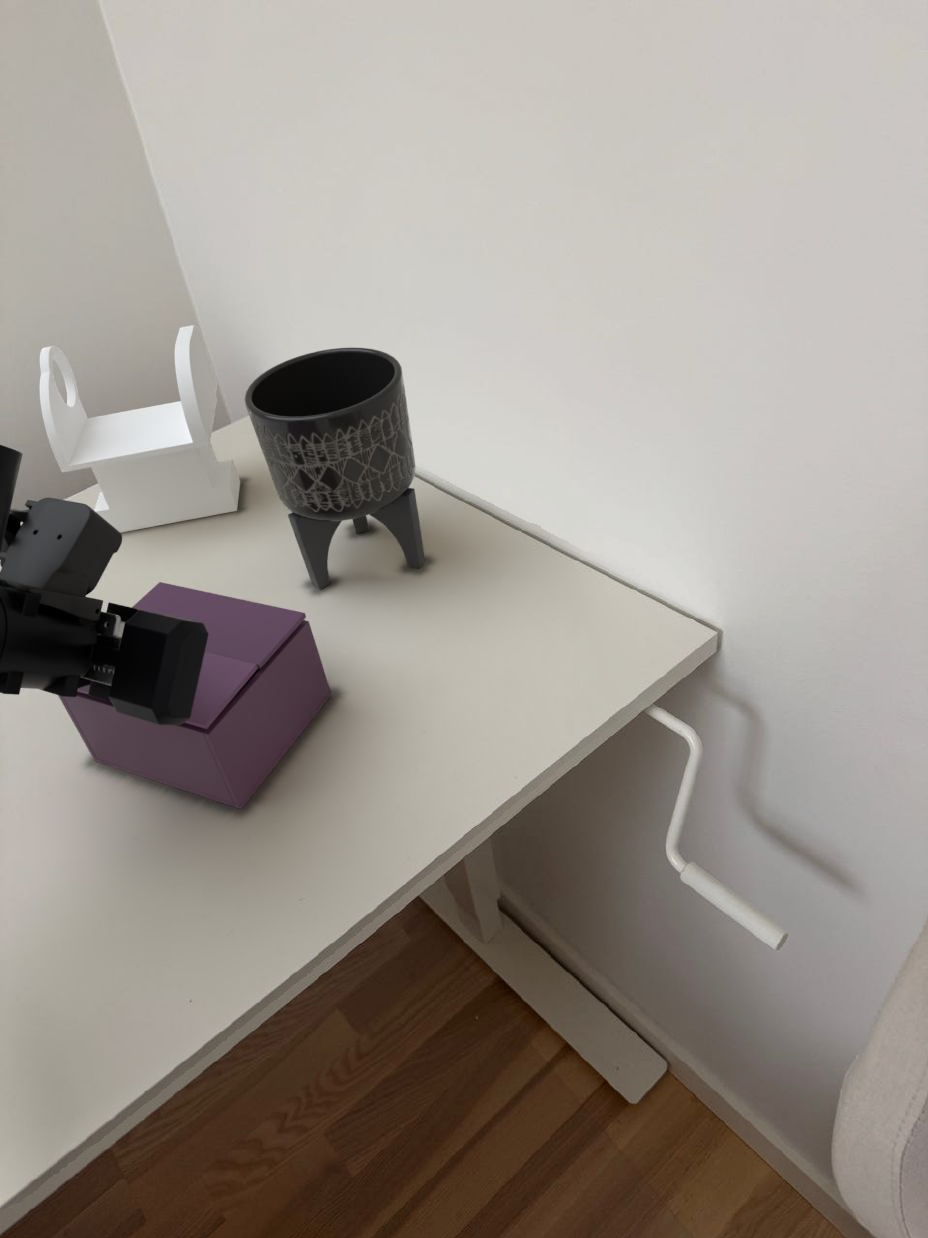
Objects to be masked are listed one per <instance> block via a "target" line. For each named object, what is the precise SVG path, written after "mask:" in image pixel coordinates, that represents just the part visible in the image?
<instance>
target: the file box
mask: <svg viewBox="0 0 928 1238" xmlns="http://www.w3.org/2000/svg"><path fill="white" fill-rule="evenodd" d="M131 608H135V609H137V610H144V611H150V612H155V613H160V614H165V615H170V616H175V617H179V618H183V619H187V620H192V621H196V622H200V623H203V624H204V626H205V628H206V630H207V632H208V634H209V635H208V639H207V644H206V648H205V652H208V653H212V654H216V655H220V656H224V657H228V658H232V659H237V660H241V661H245V662H249V663H253V664H256V665H257V667H258V669H257V670H256V671H255V672H254V674H253V675H252V676H251V677H250V678H249V680H248V681H247V682H246V683H245V684H244V686H243V687H242V688H241V689H240V690H239V691H238V693H237V694H236V695H235V696H234V697H233V699H232V700H231V701H230V702H229V703H228V705H227V706H226V707H225V708H224V709H223V710H222V712H221V713H220V714H219V715H218V716H217V718H216V719H215V720H214V721H213V722H212V724H211V725H210V726H209V727H208V728H207V729H205V728H202V727H198V726H195V725H191V724H188V723H183V724H182V725H158V724H155V723H151V722H148V721H145V720H141V719H138V718H135V717H131V716H128V715H124V714H121V713H118V712H116V710H115V708H114V706H113V704H112V702H109V701H106V700H103V699H99V698H96V697H92V696H89V695H88V694H85V693H81V692H78V691H77V695H76V697H63V696H59V695H57V696H58V698H59V700H60V701H61V704H62V705H63V707H64V709H65V710H66V712H67V714H68V716H69V717H70V719H71V722H72V723H73V725H74V726H75V728H76V730H77V732H78V734H79V735H80V737H81V739H82V741H83V743H84V744H85V746H86V748H87V750H88V752H89V754H90V756H91V757H92V759H93V760H94V762H97V763H100V764H103V765H105V766H108V767H111V768H114V769H117V770H121V771H124V772H126V773H130V774H132V775H136V776H139V777H142V778H145V779H148V780H151V781H154V782H157V783H160V784H163V785H165V786H169V787H172V788H175V789H178V790H182V791H185V792H188V793H191V794H194V795H197V796H200V797H202V798H206V799H207V800H208V799H209V800H211V801H215V802H217V803H220V804H224V805H227V806H230V807H233V808H236V809H238V810H242V809H243V808H244V807H245V806H246V804H247V803H248V802H249V801H250V800H251V798H252V797H253V795H254V794H255V793H256V792H257V791H258V789H259V788H260V786H261V785H262V784H264V781H265V780H266V779H267V778H268V777H269V775H270V774H271V773H272V772H273V770H274V769H275V768H276V767H277V765H278V764H279V762H280V761H281V760H282V759H283V757H284V756H285V755H286V754H287V752H288V751H289V750H290V749H291V747H292V746H293V745H294V744H295V742H296V741H297V740H298V738H299V737H300V736H301V735H302V733H303V732H304V731H305V729H306V728H307V727H308V726H309V725H310V723H311V722H312V721H313V719H314V718H315V717H316V716H317V714H318V713H319V712H320V711H321V710H322V708H323V707H324V705H325V704H326V703H327V702H328V700H329V699H330V698H331V697H332V691H331V688H330V685H329V682H328V679H327V678H328V677H327V675H326V672H325V669H324V666H323V663H322V659H321V655H320V653H319V650H318V647H317V642H316V639H315V637H314V633H313V630H312V627H311V624H310V621H309V620H305V619H306V618H307V615H306V613H305V612H302V611H297V610H293V609H287V608H283V607H279V606H274V605H269V604H265V603H260V602H255V601H250V600H247V599H246V600H245V599H241V598H236V597H232V596H228V595H223V594H218V593H213V592H208V591H205V590H199V589H194V588H190V587H185V586H180V585H175V584H170V583H166V582H162V581H159V582H158V583H157V584H155V585H154V587H152V589H150V590H149V591H148V592H146V594H144V595H143V597H142V598H140V599H139V600H138V601H137V602H136V603H134V605H132V607H131Z"/></svg>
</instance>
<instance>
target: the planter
mask: <svg viewBox="0 0 928 1238" xmlns="http://www.w3.org/2000/svg"><path fill="white" fill-rule="evenodd" d="M404 382H405V381H404V374H403V368H402V365H401V364H400V362H399V361H398V360H397V359H396V357H394V356H393V355H391V354H390V353H387V352H384V351H382V350H378V349H374V348H367V347H352V346H351V347H337V348H328V349H322V350H318V351H317V350H316V351H313V352H309V353H304V354H303V355H298V356H296V357H292V358H290V359H287V360H285V361H283V362H281V363H278V364H276V365H275V366H272V367H271V368H269V369H267V370H266V371H264V372H262V373H261V374H260V375H259V376H258V377H256V378H255V379H254V380H253V381H252V382H251V384H250V385H249V386H248V388H247V389H246V391H245V394H244V404H245V408H246V410H247V413H248V416H249V419H250V422H251V425H252V427H253V430H254V433H255V436H256V439H257V441H258V444H259V446H260V449H261V452H262V455H263V458H264V460H265V463H266V466H267V468H268V471H269V474H270V477H271V480H272V482H273V485H274V488H275V490H276V494H277V496H278V498H279V500H280V502H281V503H282V505H284V507H285V508H286V509H287V510H289V514H287V517H288V519H289V523H290V525H291V529H292V531H293V535H294V537H295V540H296V543H297V545H298V548H299V551H300V554H301V557H302V559H303V562H304V565H305V567H306V570H307V573H308V576H309V579H310V582H311V584H312V585H313V586H314V587H315V588H316V589H318V590H321V589H324V588H325V587H328V586H329V585H330V584H331V582H330V576H329V568H328V566H329V565H328V560H329V550H330V546H331V543H332V540H333V537H334V535H335V532H336V531H337V530H338V527H339V526H340V524H341V523H342V521H343V522H344V521H348V520H352V522H353V528H354V531H355V533H356V534H359V533H360V534H361V533H365V532H369V531H370V526H369V525H370V524H369V521H368V517H367V516H370V517H372V518H373V519H375V520H377V521H378V522H379V523H381V524H382V525H383V526H384V527H386V529H388V530H389V532H390V533H391V534H392V535H393V536H394V538H395V540H396V541H397V543H398V544H399V546H400V548H401V550H402V552H403V555H404V559H405V560H406V564H407V567H408V568H413V569H421V568H422V566H423V565H424V563H425V562H426V556H425V549H424V543H423V536H422V529H421V523H420V516H419V511H418V504H417V503H418V502H417V497H416V491H415V490H416V489H415V487H411V485H412V483H413V480H414V479H415V474H416V459H415V453H414V445H413V439H412V431H411V423H410V417H409V409H408V404H407V395H406V388H405V383H404Z"/></svg>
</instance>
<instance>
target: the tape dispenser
mask: <svg viewBox="0 0 928 1238" xmlns="http://www.w3.org/2000/svg"><path fill="white" fill-rule="evenodd" d="M174 344H175V345H174V369H175V377H176V383H177V389H178V394H179V399H180V400H178V401H173V402H167V403H163V404H158V405H152V406H147V407H141V408H136V409H130V410H125V411H120V412H115V413H108V414H104V415H99V416H93V417H88V415H87V413H86V410H85V408H84V406H83V404H82V401H81V399H80V394H79V389H78V383H77V380H76V377H75V374H74V370H73V368H72V366H71V364H70V362H69V359H68V358H67V355H66V354H65V353H64V351H63V350H61V348H60V347H58V346H56V345H50V346H45V347H43V348H42V349H41V350H40V353H39V371H40V378H39V402H40V410H41V415H42V421H43V424H44V430H45V432H46V437H47V439H48V442H49V445H50V448H51V450H52V453H53V455H54V458H55V460H56V463H57V465H58V467H59V469H60V471H61V473H68V472H74V471H78V470H84V469H89V468H90V469H91V470H92V473H93V475H94V477H95V480H96V482H97V484H98V486H99V489H100V490H99V491H100V492H99V494H98V497H97V501H96V503H95V506H94V509H93V510H94V511H95V512H96V513H98V514H99V515H100V516H101V517H102V518H104V519H105V520H106V521H107V522H108V523H110V524H111V525H112V526H113V527H114V528H115V529H117V530H118V531H119V532H120V533H121V534H122V533H126V532H131V531H136V530H137V531H138V530H142V529H147V528H152V527H157V526H162V525H169V524H173V523H179V522H185V521H189V520H195V519H200V518H206V517H211V516H217V515H221V514H226V513H227V514H228V513H232V512H237V511H238V505H239V496H240V488H241V480H240V477H239V474H238V471H237V468H236V465H235V461H234V459H233V458H229V459H223V460H217V457H216V453H215V451H214V448H213V445H212V443H211V438H212V434H213V427H214V423H215V422H214V421H215V416H216V412H217V411H216V410H217V404H218V396H217V391H218V384H219V382H218V379H217V376H216V372H215V369H214V366H213V363H212V360H211V357H210V355H209V351H208V348H207V345H206V341H205V339H204V336H203V334H202V331H201V329H200V328H199V326H198V325H197V324H191V325H186V326H181V327H179V329H178V333H177V336H176V340H175V343H174ZM54 362H55V364H56V365H57V367H58V369H59V371H60V373H61V376H62V378H63V379H62V380H63V382H64V385H65V386H64V387H65V390H66V402H65V401H64V399H63V396H62V395H61V393H60V390H59V387H58V385H57V382H56V379H55V375H54V367H53V365H54V364H53V363H54Z"/></svg>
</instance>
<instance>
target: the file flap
mask: <svg viewBox="0 0 928 1238" xmlns="http://www.w3.org/2000/svg"><path fill="white" fill-rule="evenodd" d="M257 669H258V667H257V665H256V664H253V663H249V662H245V661H241V660H237V659H232V658H228V657H224V656H220V655H216V654H212V653H208V652H205V653H204V658H203V662H202V667H201V671H200V676H199V680H198V685H197V689H196V694H195V699H194V703H193V708H192V712H191V717H190V719H188V720H187V721H186V722H184V723H188V724H191V725H195V726H198V727H202V728H205V729H207V728H208V727H209V726H210V725H211V724H212V722H213V721H214V720H215V719H216V718H217V716H218V715H219V714H220V713H221V712H222V710H223V709H224V708H225V707H226V706H227V705H228V703H229V702H230V701H231V700H232V699H233V697H234V696H235V695H236V694H237V693H238V691H239V690H240V689H241V688H242V687H243V686H244V684H245V683H246V682H247V681H248V680H249V678H250V677H251V676H252V675H253V674H254V672H255V671H256V670H257ZM89 688H90V685H88V686H84V687H81V688H78V690H77V691H78V692H81V693H85V694H88V693H89Z"/></svg>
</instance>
